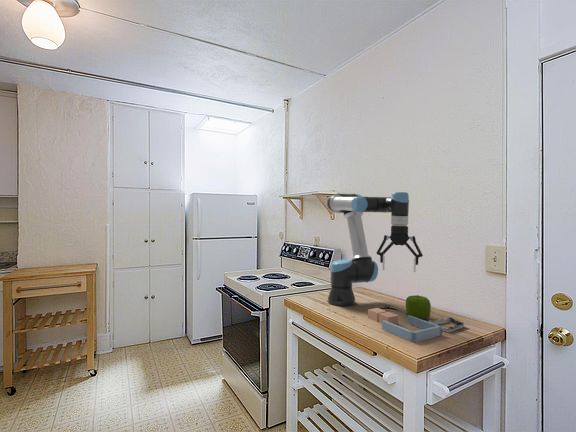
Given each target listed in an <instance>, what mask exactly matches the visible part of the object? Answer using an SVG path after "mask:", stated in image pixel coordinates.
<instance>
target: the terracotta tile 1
mask: <svg viewBox="0 0 576 432" xmlns="http://www.w3.org/2000/svg"><path fill="white" fill-rule="evenodd" d="M384 312H388V311H387V310H385V309H381V308H379V307H374V308H369V309H367V318H368V319H371V320H373V321H375V322H379V313H384Z"/></svg>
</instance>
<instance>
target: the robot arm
mask: <svg viewBox="0 0 576 432" xmlns="http://www.w3.org/2000/svg"><path fill="white" fill-rule="evenodd" d="M326 200H327V201H326V206H327V208H328V209H329V210H330V211H331V212H334V213H339V214H343V217H344V218H345V219H346V221H347V226H348V227H347V228H348V231H349V233H348V234H349V238H350V244H351V250H352V256H353V257H352V258H351V259H347V258H345V259H339V260H334V261H333V262H331V265H330V290H329V293H328V297H327V303H329V304H330V305H333V306H342V307H347V306H348V307H350V306H353V305H355V304H356V298H355V294H354V290H353V284H359V283H367V284H368V283H371V282H374V281H376V279H377V278H378V275H379V266H378V264H377V262H376V261H375V260H373V258H372V256H371V255H369V251H368V246H367V245H368V244H367V241H366V235H365V230H364V224H363V220H362V219H363V218H362V216H363V214H364V213H384V214H385V213H391V214H390V216H391V220H390V224H391V226H390V235H387V234H385V235H384V236H383V240H382V242H381V243H380V245H379V247H378V249H377V251H376V255H378V256H380V257H379V259H380V262H379V263H381V264H382V271H385V255H386V253H387V252H388V251H389V250H390V249H391V248H392V246H406V248H407V249H408V250H409V251H410V253H412V255H413V256H414V257H413V262H412V263H413V266H412V267H413V269H412V271H413V273H416V271H417V270H416V266H418V265H419V258H422V257H423V256H424V255H423V253H422V251H421V249H420V246H419V245H418V243H417V241H416V236H414V235H411V236H409V226H408V225H409V207H410V206H409V205H410V199H409V193H408V192H405V191H404V192H403V191H397V192H396V191H395V192H394V191H393V192H392V193H391V196H363V195H361V194H356V193H334V194H331V195H330V196H329V197H328V198H327V199H326ZM389 239H390V240H391V242H390V243H389V244H388V245H387V246H386V247H385V248H384V245H385V244H386V242H387V241H389ZM409 240H410V241H411V242H412V243H413V246H414V247H415V249H416V251H417V252H416V251H415V250H414V249H413V247H411V246H410V244H409V243H408V241H409ZM383 248H384V249H383ZM382 249H383V250H382ZM417 253H418V254H417Z"/></svg>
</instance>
